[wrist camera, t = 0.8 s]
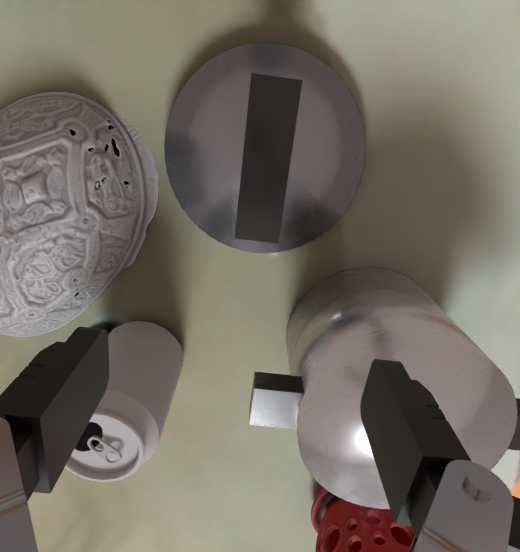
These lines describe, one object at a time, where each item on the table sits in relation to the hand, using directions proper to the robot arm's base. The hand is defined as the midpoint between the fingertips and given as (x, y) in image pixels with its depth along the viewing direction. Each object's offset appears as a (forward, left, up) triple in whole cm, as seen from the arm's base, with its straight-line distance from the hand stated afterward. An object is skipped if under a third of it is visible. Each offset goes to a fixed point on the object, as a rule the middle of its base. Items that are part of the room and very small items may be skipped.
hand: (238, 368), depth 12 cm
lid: (-4, +1, -22) cm, 22 cm away
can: (+15, -8, -22) cm, 27 cm away
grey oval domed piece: (+4, -17, -22) cm, 29 cm away
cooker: (+11, +12, -22) cm, 27 cm away
